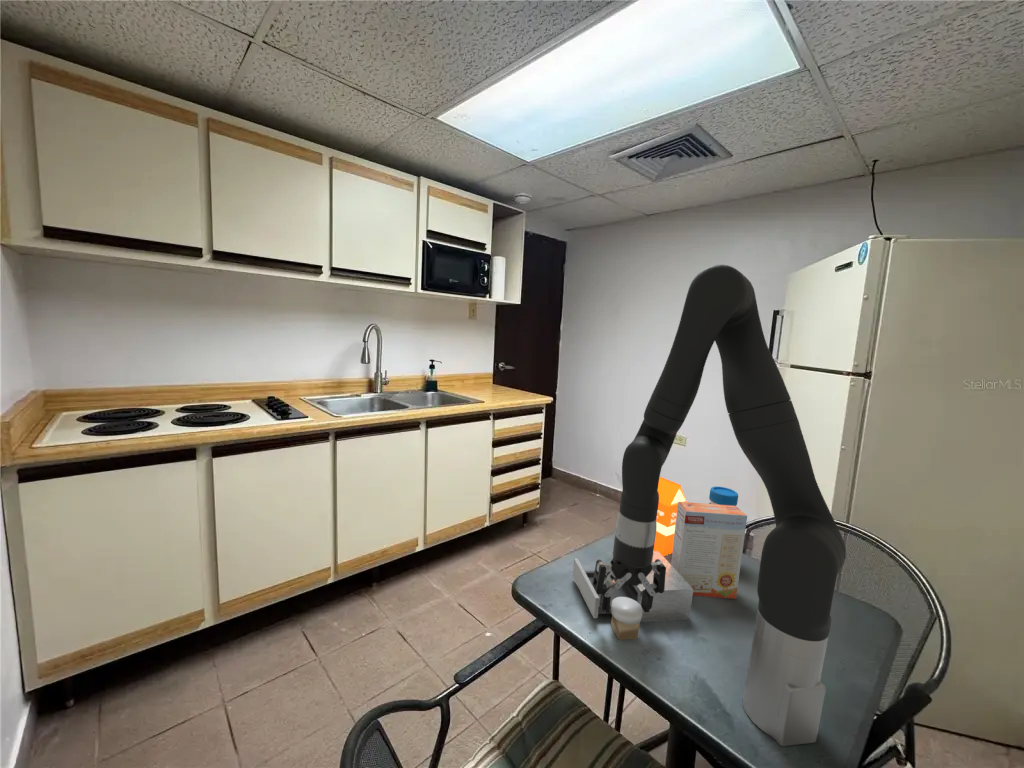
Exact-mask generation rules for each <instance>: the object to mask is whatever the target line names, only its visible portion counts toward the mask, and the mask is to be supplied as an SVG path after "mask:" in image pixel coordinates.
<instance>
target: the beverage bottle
mask: <svg viewBox="0 0 1024 768" xmlns="http://www.w3.org/2000/svg"><path fill="white" fill-rule="evenodd" d="M708 500H709V501H710V502H708V504H717V505H730V506H736V507H737V505H738V500H739V493H738V492H737V491H735V489H734V490H733V489H732V488H729V487H724V486H712V487H710V490H709V498H708Z"/></svg>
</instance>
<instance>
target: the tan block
mask: <svg viewBox="0 0 1024 768" xmlns="http://www.w3.org/2000/svg"><path fill="white" fill-rule="evenodd" d="M640 623H641V622H639V623H637V624H625V623H622V622H620V621H618V620H617V619H616V618H615V617H614V616H613V615H612V614H611V622H610V626H611V628H612V629H613V631H614V633H615V636H616V637H617V639H618V640H633V639H635V640H636V639H639V631H640V626H641V625H640Z"/></svg>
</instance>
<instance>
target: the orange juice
mask: <svg viewBox="0 0 1024 768" xmlns="http://www.w3.org/2000/svg"><path fill="white" fill-rule="evenodd" d="M658 493H659V505H658V512H657V520H656V525H657V529H656V537H655V544H654V551H659V552H660V554H661V555H662V556H663V557H667V556H669V555H672V551H673V542H674V533H675V524H676V516H677V507H678V502H688V501H687V499H686V496H685V493H684V491H683V488H682V485H681V484H679V483H677V482H674V481H671V480H669V479H667V478H665V477H661V476H660V478H659V484H658ZM668 554H669V555H668ZM666 555H667V556H666Z"/></svg>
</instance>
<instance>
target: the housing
mask: <svg viewBox="0 0 1024 768" xmlns="http://www.w3.org/2000/svg"><path fill="white" fill-rule="evenodd" d="M611 553H612V554H611V560H610V562H611V561H612V559H613V551H612V552H611ZM656 559H659V560H660V561H661V562H662V563H663V564H664V566H665V567H666V575H665V587H664V592H663V593H659V592H658V593H656V594H655V595H654V596H653V602H652V608H651V609H649V612H644V610H643V608H642V610H643V611H642V619H641V621H640V623H643V622H644V623H645V622H663V621H676V620H677V621H679V620H680V621H681V620H690V617H691V611H692V610H691V609H692V602H693V588H692V587H691V586H690V585H689V584H688V583H687V582H686V581H685V579H684V578H683V577H682V576H681V575H680V574H679V573H678V572H677V571H676V570H675V569H674V568H673V566H672V565H671V562H670V561H668V560H667V559H666V557H665V556H662V555H661V554H660V552H659V551H653V559H652V562H655V560H656ZM653 576H654V571H653V570H652V571H651V572H650V573H649V575H648V576H647V577H646V578H647V580H648V582H649V583H650V584H652V583H653ZM631 586H632V587H633V588H634V590H635V591H636V593H637V594H638V597H637V602H638V603H639V604H640V605H641V601H642V594H643V590H645V587H644V586H643V584H642V583H640V584H638V586H634V585H631Z"/></svg>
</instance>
